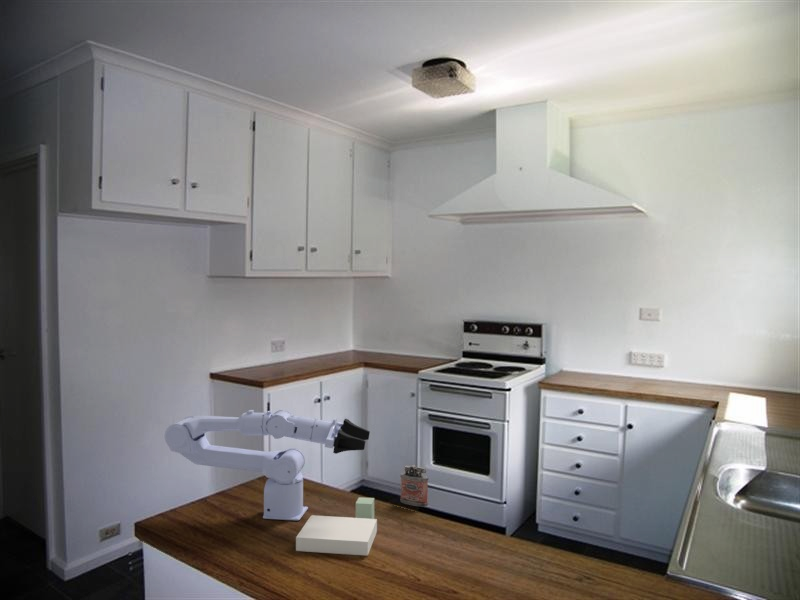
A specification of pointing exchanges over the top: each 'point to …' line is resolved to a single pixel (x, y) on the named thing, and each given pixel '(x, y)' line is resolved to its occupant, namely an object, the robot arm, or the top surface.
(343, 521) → the base plinth
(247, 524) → the top surface
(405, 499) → the lighter
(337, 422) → the robot arm
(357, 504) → the green block
